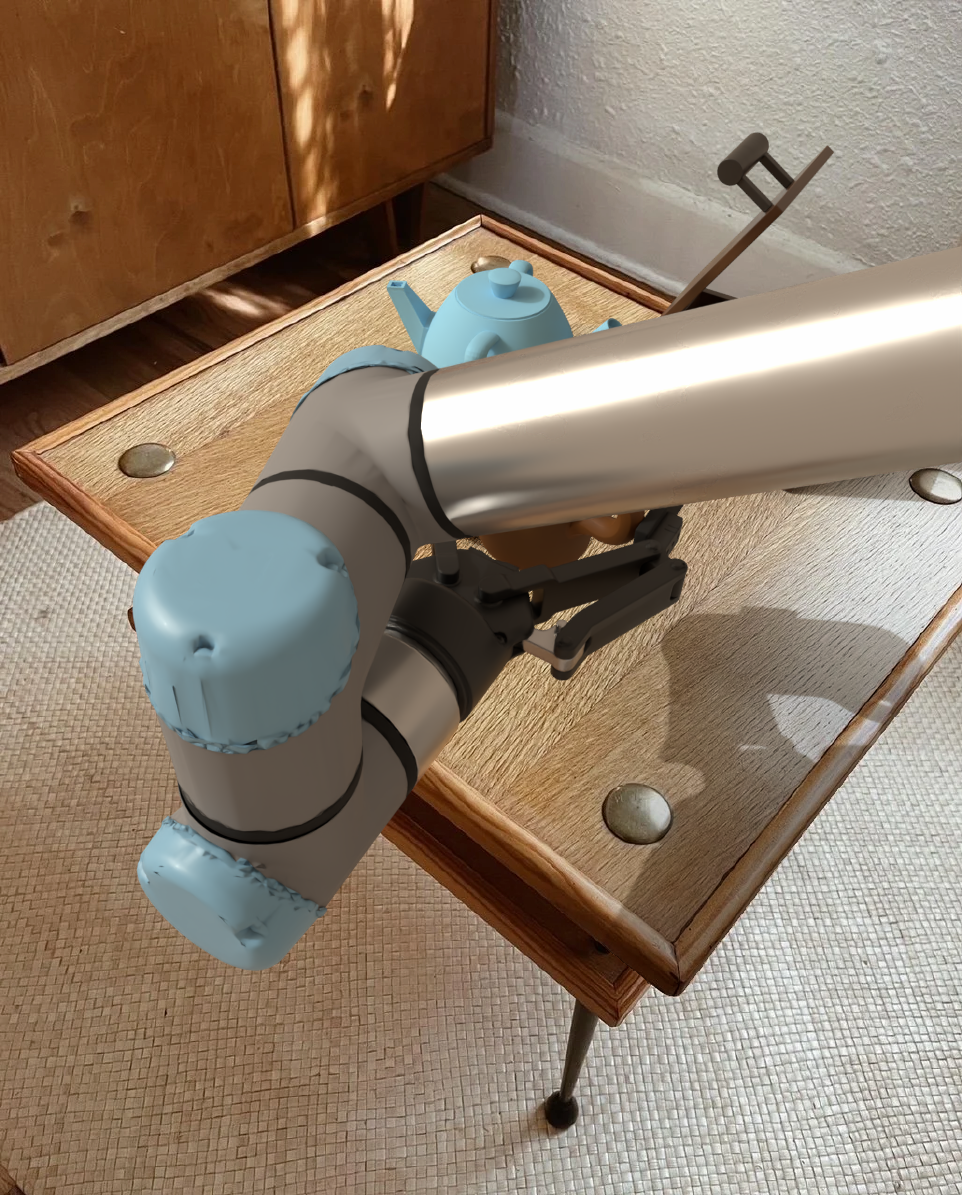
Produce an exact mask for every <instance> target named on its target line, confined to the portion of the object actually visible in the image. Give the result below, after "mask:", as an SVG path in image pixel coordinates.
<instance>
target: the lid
mask: <svg viewBox="0 0 962 1195" xmlns="http://www.w3.org/2000/svg"><path fill="white" fill-rule="evenodd" d="M769 148H770V142H769V140H768V138H767V136H766V135H765V134H763V133H762V132H757V131H755V132H752V133H750V134H748V135H747V136H746V137H745V138H743V140H742V141H741V142H740V143H739V144H738V145H737V146H736V147H735V148H734V149H733V150H732V151H731V152H730V153H729V154H728V155H726V157H725V158H724V159H722V160H721V161H720V163H719V164H718V166H717V170H716V175H717V178H718V180H719V181H720V183H721V184H723V185H725V186H729V187H732V186H733V187H734V186H736V185H737V186H738V188H740V189H741V191H742V192H743V193H744V194H745V195H746V196H747V197H748V198H749V199H750V200H751V201H752V202H753V203H754V204H755V206H756V207H758V208H759V209H760V212H759V213H758V214H756V216H755V217H753V218H752V220H750V221H749V223H748V224H747V225H746V226H744V227H743V229H742V230H741V231H739V233H737V235H736V236H735V237H734V238H733V239H732V240H731V241H730V242H728V243H727V244H726V246H724V247H723V249H721V251H719V253H718V254H717V255H715V257H714V258H712V259H711V261H710V262H708V264H706V266H704V268H703V269H702V270H700V271H699V273H697V275H695V277H694V278H693V279H692V280H691V281H690V282H689V283H688V284H687V285H686V287H685V288H684V289H683V290H682V291H681V292H680V293H679V294H678V295H677V296H676V298H675V299H674V300H673V301H672V303H670V304H669V305H668V307H666V309H665V310H664V311H663V312H662V313H661V315H659V317H661V316H665V315H670V314H674V313H678V312H682V311H683V310H684V309H685V308H686V307H687V306H688V305H689V304H690V303H691V302H692V301H693V300H694V299H695V298H696V297H697V296H698V295H699V294H700V293H701V292H702V291H703V290H704V289H705V288H708V286H710V285H711V284H712V283H713V282H714V281H715V280H716V279H717V278H718V277H719V276H720V275H721V274H722V273H723V272H724V271H725V270H726V269H727V268H728V267H729V266H730V265H731V264H732V263H733V262H734V261H735V260H737V258H738V257H739V256H741V255H742V254H743V252H745V250H747V249H748V248H749V247H750V246H751V245H752V244H753V243H754V242H755V241H756V240H757V239H758V238H759V237H760V236H761V235H762V234H763V233H764V232H765V231H766V230H767V229H768V228H769V227H770V226H771V225H772V224H773V223H774V222H776V220H777V219H779V218H780V217H781V216H782V215H783V213H785V212H786V210H787V209H788V208H789V207H790V206H791V204H792V203H793V202H794V201H795V200H796V198H797V197H798V196H799V195H800V194H801V193H802V191H803V190H804V189H805V188H806V187H807V185H808V184H809V183H810V182H811V181H812V180H813V178H814V177H815V176H816V175H817V173H818V172H819V171H820V170H821V169H822V168H823V167H824V165H825V164H826V163H827V162H828V161H829V160H830V158H831V157H832V156H833V155H834V154H835V151H834V150H833V149H832V147H830V145H826V146H825V147H824V148H823V149H821V150H820V152H819V153H818V154H817V155H815V157H814V158H812V160H810V162H809V163H808V164H807V165H806V166H804V168H803V169H801V170H800V172H799V173H798V174H797V175H795V176H794V178H793V177H792V175H791V174H789V173H788V171H786V170H785V169H784V167H782V166H781V164H780V163H778V161H777V160H776V159H775V158H774V157H773V156H772V155H771V154H770V152H769V150H770V149H769ZM758 163H760V165H762V166H763V167H764V169H766V170H767V171H768V173H769V174H770V175H772V177H774V179H775V180H776V181H777V182H778V183H779V184H780V186H782V187H783V189H782V190H781V191H780V192H778V193H777V195H776V196H775V197H773V199H772V200H770V199H769V197H767V196H766V194H764V192H762V190H761V189H760V188H759V187H758V186H757V185H756V184H755V183H754V182H753V181H752V180H751V179H750V178H749V177H748V176H747V174H749V173H750V172H751V171H752V169H753V168H755V167H756V165H757V164H758Z"/></svg>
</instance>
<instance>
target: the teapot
mask: <svg viewBox="0 0 962 1195" xmlns="http://www.w3.org/2000/svg"><path fill="white" fill-rule="evenodd" d="M386 292H387V294H388V295H389V297H390V298H389V299H391V301H392V304H393V306H394V308H395V310H396V312H397V314H398V317H399V318H400V321H401V323H402V324H403V327H404V329H405V331H406V333H407V334H408V337H409V339H410V341H411V343H412V345H413V347H414V349H415V351H416V354H418V355H421V356H422V357H424V358H425V359H427V360H428V361H430V362H431V363H432V364H434V365H435V366H436V367H437V368H444V367H448V366H452V365H457V364H461V363H465V362H469V361H474V360H478V359H482V358H486V357H491V356H495V355H499V354H503V353H508V352H512V351H516V350H520V349H525V348H529V347H533V346H538V345H542V344H546V343H550V342H555V341H559V340H563V339H567V338H572V337H575V336H574V333H573V330H572V327H571V325H570V322H569V320H568V318H567V316H566V314H565V312H564V309H563V307H561V305H560V303H559V301H558V299H557V298H556V296H555V295H554V294H553V292H552V291H551V289H550V288H549V286H548V285H546V283H544V282H543V281H542V280H540V279H539V278H537V277H536V276H534V266H533V265H532V263H530V262H529V261H527V260H525V259H515V260H513V261H512V262H511V263H510V264H509V266H508V267H497V268H494V269H487V270H483V271H477V272H475V273H473V274H470V275H468V276H466V277H464V278H463V279H462V280H461V281H459V282H458V284H456V286H455V287H453V289H452V290H451V291H450V292H449V294H448V295H447V297H446V298H445V299H444V300H443V302H442V303H441V304H440V306H439V308H438V309H437V310H436V311H434V310H431V308H429V307H428V305H427V304H426V303H425V302H424V301H423V299H421V297H420V296H419V295H418V293H416V292H415V291H414V290H413V288H412V287H411V286H410V285H409V283H408V280H395V279H394V280H393V279H392V280H391V279H390V280H389V281H388V283H387V285H386ZM619 326H623V324H622V323H621V322H620V321H619V320H618V319H616V318H613V317H609V318H608V319H607V320H605V321H604V322H603V323H602V324H600V325H599V326H598V327H597V328H596V329H594V330H593V331H592V332H591V333H593V332H597V331H601V330H606V329H610V328H614V327H619Z"/></svg>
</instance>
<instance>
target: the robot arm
mask: <svg viewBox="0 0 962 1195" xmlns="http://www.w3.org/2000/svg"><path fill="white" fill-rule="evenodd" d="M737 298H738V299H734V300H729V301H725V302H721V303H717V304H712V305H708V306H704V307H699V308H695V309H691V310H687V311H682V312H678V313H674V314H670V315H665V316H661V315H660V316H661V317H660V316H657V317H653V318H649V319H645V320H639V321H636V322H632V323H627V324H622V326H619V327H614V328H610V329H606V330H601V331H597V332H593V331H592V332H593V333H592V332H589V333H585V334H581V335H576V336H574V337H572V338H567V339H563V340H559V341H555V342H550V343H546V344H542V345H538V346H533V347H529V348H525V349H520V350H516V351H512V352H508V353H503V354H499V355H495V356H491V357H486V358H482V359H478V360H474V361H469V362H465V363H461V364H457V365H452V366H448V367H444V368H437V367H436V366H435V365H434V364H432V363H431V362H430V361H428V360H427V359H425V358H424V357H422V356H421V355H418V353H417V352H413V351H411V350H401V349H398V348H394V347H388V346H386V345H384V344H371V345H365V346H364V345H363V346H359V347H357V348H354V349H352V350H349V351H347V352H344V353H343V354H341V355H339V356H338V357H337V358H336V359H334V360H333V361H332V362H331V363H330V364H329V365H328V366H327V367H326V368H325V370H324V371H323V372H322V373H321V375H320V376H319V377H318V379H317V380H316V382H315V383H314V384H313V386H312V387H311V388H310V389H309V390H308V391H307V392H305V393H304V394H303V395H302V396H301V398H300V399H299V401H298V402H297V404H296V406H295V409H294V410H293V411H292V414H291V416H290V418H289V422H288V424H287V426H286V427H285V429H284V431H283V433H282V435H281V436H280V438H279V440H278V442H277V443H276V445H275V447H274V449H273V450H272V452H271V454H270V456H269V458H267V461H266V463H265V464H264V466H263V467H262V470H261V472H260V474H259V475H258V477H257V479H256V481H255V482H254V484H253V486H252V488H251V489H250V491H249V493H248V495H247V496H246V497H245V498H244V501H243V502H242V503H241V505H240V506H239V508H238V510H231V511H225V512H221V513H216V514H213V515H210V516H206V517H204V518H201V519H198V520H197V521H195V522H193V523H192V524H191V525H190V527H189V529H188V530H187V531H186V532H184V533H183V534H181V535H179V536H178V537H176V538H174V539H165V540H164V541H163V542H162V543H161V544H159V546H157V548H156V549H155V550H154V551H153V552H152V553H151V555H150V556H149V557H148V559H147V560H146V561H145V562H144V565H143V566H142V568H141V570H140V572H139V574H138V577H137V580H136V583H135V586H134V590H133V595H132V618H133V623H134V627H135V632H136V636H137V643H138V648H139V652H140V653H139V654H140V658H139V661H138V664H139V668H140V671H141V674H142V685H143V687H144V691H145V694H146V695H147V697H148V700H149V702H150V704H151V706H152V707H153V708H154V711H155V714H156V717H157V721H158V723H159V727H160V729H161V732H162V736H163V739H164V741H165V744H166V748H167V751H168V754H169V757H170V760H171V764H172V767H173V770H174V773H175V776H176V781H177V789H178V790H177V791H178V795H179V799H180V803H181V806H180V807H179V808H178V809H177V810H176V811H175V812H173V813H172V814H171V815H167V816H166V817H165V818H164V819H162V821H161V826H160V828H159V829H158V830H157V832H156V833H155V834H154V836H153V837H152V838H151V840H150V841H149V842H148V844H147V845H146V847H145V848H144V849H143V851H142V852H141V853H140V856H139V861H138V862H137V868H136V874H137V879H138V882H139V884H140V887H141V889H142V891H143V893H144V895H146V897H147V898H148V900H149V901H150V903H151V904H152V906H153V907H154V908H155V909H156V910H157V912H158V913H159V914H160V915H161V916H162V917H163V918H164V919H165V920H166V921H167V922H168V923H169V924H170V925H171V926H172V927H173V928H175V930H177V931H178V932H179V933H180V934H181V935H182V936H184V937H185V938H186V939H187V940H189V942H191V943H192V944H194V945H195V946H197V947H198V948H199V949H201V950H202V951H204V952H205V953H208V954H209V955H210V956H212V957H214V958H216V959H217V960H219V961H221V962H222V963H224V964H226V965H229V966H231V967H234V968H237V969H240V970H243V971H244V970H245V971H252V972H254V971H255V972H257V971H264V970H268V969H270V968H272V967H274V966H276V965H277V964H279V963H280V962H281V961H282V960H283V959H284V958H285V957H286V956H287V954H289V952H290V951H291V949H293V948H294V947H295V945H296V944H297V943H298V942H299V941H300V940H301V939H302V937H303V936H304V935H305V934H306V933H307V931H308V930H309V929H310V928H311V927H312V926H313V924H314V923H315V922H316V921H317V920H318V919H320V918H322V917H324V916H325V915H326V913H327V912H328V908H327V907H328V905H329V904H330V902H331V901H332V900H333V898H334V897H335V895H336V894H337V892H338V891H339V890H340V888H341V887H342V886H343V884H344V883H345V882H346V881H347V879H348V878H349V877H350V875H351V874H352V873H353V871H354V870H355V869H356V867H357V865H358V864H359V863H360V861H361V860H362V859H363V857H365V855H366V854H367V852H368V851H369V850H370V848H371V847H372V845H373V844H374V842H375V841H376V840H377V838H378V837H379V835H381V833H382V832H383V830H384V829H385V828H386V826H387V825H388V823H389V822H390V821H391V819H392V818H393V817H394V815H395V814H396V813H397V811H398V810H399V809H400V807H401V806H402V805H403V803H404V802H405V801H406V799H407V798H408V796H409V794H411V792H412V791H413V790H414V788H415V787H416V786H417V785H418V783H419V782H420V780H421V779H422V778H423V777H424V775H425V774H426V772H427V771H428V769H429V768H430V767H431V765H432V764H433V763H434V762H435V760H436V759H437V757H438V756H439V755H440V754H441V752H442V751H443V750H444V749H445V747H446V746H447V744H448V743H449V742H450V740H451V739H452V738H453V737H454V735H455V733H456V732H457V731H458V729H459V726H460V724H461V723H463V722H464V721H465V720H467V719H468V717H469V716H470V715H471V713H473V710H474V709H475V708H476V707H477V706H478V704H479V702H480V701H481V700H482V699H483V697H484V696H485V695H486V694H487V692H488V690H489V689H490V688H491V686H492V685H493V684H494V682H496V680H497V678H499V676H500V674H501V673H502V671H503V670H504V668H505V667H506V666H507V664H508V663H509V662H511V661H512V660H513V659H516V658H517V657H520V656H522V655H524V654H526V653H527V654H529V655H532V656H533V657H535V658H537V659H540V660H542V661H544V662H545V663H547V664H549V665H550V669H549V670H550V672H549V673H550V675H551V676H552V678H553V679H555V680H557V681H560V682H561V681H564V682H565V681H569V680H570V679H571V678H573V676H574V675H575V673H576V672H577V671H578V669H579V667H580V666H581V665H582V664H583V662H584V661H585V660H586V658H587V657H588V656H590V655H592V654H593V653H595V652H597V651H599V650H600V649H602V648H603V647H605V646H607V645H609V644H610V643H612V642H613V641H615V640H617V639H618V638H620V637H622V636H623V635H625V634H626V633H628V632H630V631H631V630H633V629H635V628H637V627H638V626H641V624H643V623H645V622H647V621H649V620H651V618H653V617H655V616H656V615H658V614H659V613H660V614H661V613H662V612H663V611H665V610H667V609H668V608H670V607H671V606H673V605H675V604H677V603H678V602H679V601H680V598H681V594H682V592H683V587H684V584H685V581H686V576H687V572H688V569H689V566H688V563H687V562H686V561H685V560H683V559H681V558H677V557H673V558H671V557H670V554H672V551H673V550H674V549H675V547H676V546H677V544H678V543H679V540H680V536H681V533H682V529H683V524H684V517H683V516H681V515H679V513H680V512H681V510H682V509H683V508H684V506H685V505H690V504H697V503H704V502H709V501H710V502H711V501H716V500H724V499H729V498H735V497H736V498H737V497H743V496H744V497H745V496H749V495H757V494H762V493H769V492H775V491H784V490H783V489H789V488H794V489H797V488H801V487H809V486H815V485H821V484H829V483H835V482H841V481H847V480H854V479H855V480H856V479H861V478H867V477H873V476H880V475H887V474H893V473H900V472H906V471H913V470H920V469H926V468H933V467H939V466H946V465H952V464H953V465H954V464H958V463H960V464H961V463H962V245H960V246H955V247H951V248H947V249H943V250H938V251H935V252H934V251H933V252H930V253H925V254H922V255H917V256H914V257H909V258H904V259H900V260H896V261H892V262H888V263H883V264H878V265H876V266H870V267H866V268H862V269H857V270H853V271H849V272H845V273H844V272H843V273H840V274H837V275H833V276H828V277H824V278H819V279H814V280H811V281H807V282H803V283H798V284H794V285H793V284H792V285H789V286H784V287H781V288H776V289H772V290H768V291H763V292H760V293H755V294H751V295H747V296H743V297H737ZM639 511H645V512H646V511H648V512H647V513H646V514H645V516H644V519H643V520H642V522H641V523H640V524H639V526H638V527H637V528H636V531H635V536H634V539H633V540H632V543H631V544H627V545H624V546H621V547H617V548H613V549H610V550H607V551H603V552H599V553H596V554H593V555H590V556H586V557H583V558H579V559H578V560H576V561H572V562H569V563H566V564H562V565H559V566H555V567H552V568H548V567H547V566H546V565H544V564H541V565H537V566H534V567H530V568H527V569H523V570H519V567H517V566H515V565H512V564H510V563H508V562H504V561H499V560H496V559H495V558H493V557H492V556H490V555H488V554H487V553H485V552H484V551H482V550H480V549H477V548H476V547H473V546H471V545H470V546H469V547H468V549H467V548H458V544H457V541H460V540H463V539H464V540H465V539H469V538H470V539H471V538H475V537H479V536H481V535H488V534H495V533H501V532H508V531H514V530H521V529H527V528H534V527H540V526H547V525H554V524H560V523H567V522H573V521H580V520H586V519H593V518H599V517H606V516H612V517H613V516H617V515H619V514H626V513H632V512H639ZM427 545H430V549H431V555H429V556H425V557H422V558H421V557H420V558H417V559H415V557H416V554H417V551H419V550H418V549H419V548H421V547H423V546H427ZM530 592H531V595H532V596H531V597H530ZM586 604H589V605H587V606H586V607H584V608H582V609H580V610H579V611H578V612H576V613H575V614H574V615H573V616H572V617H570V619H569V620H568V621H566V619H558V620H557V621H556V624H554V625H552V626H551V627H550V628H546V629H539V628H536V626H537V625H541V624H544V623H547V622H548V621H549V620H551V619H552V618H553V616H554V615H556V614H558V613H562V612H564V611H568V610H571V609H574V608H576V607H577V608H578V607H580V606H584V605H586Z"/></svg>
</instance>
